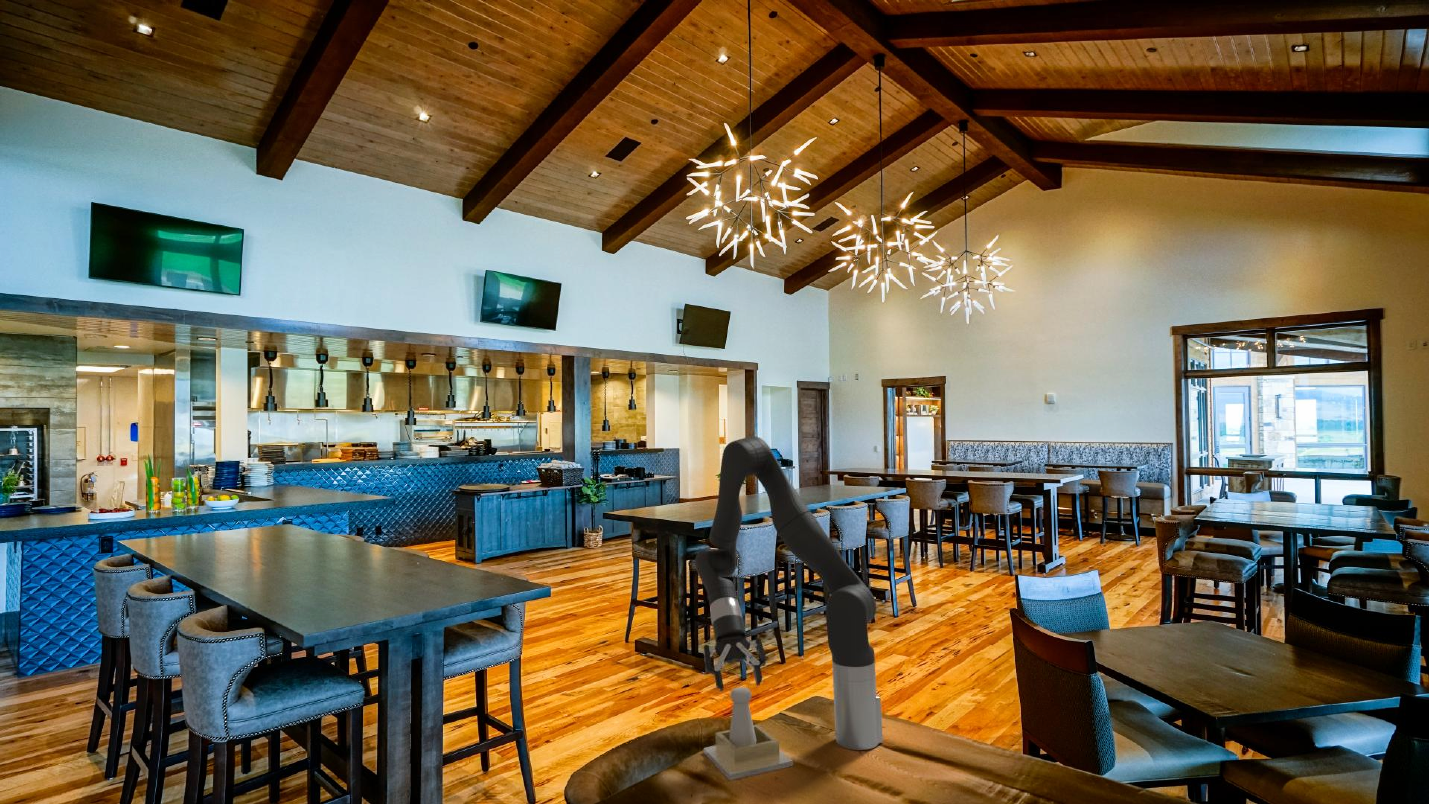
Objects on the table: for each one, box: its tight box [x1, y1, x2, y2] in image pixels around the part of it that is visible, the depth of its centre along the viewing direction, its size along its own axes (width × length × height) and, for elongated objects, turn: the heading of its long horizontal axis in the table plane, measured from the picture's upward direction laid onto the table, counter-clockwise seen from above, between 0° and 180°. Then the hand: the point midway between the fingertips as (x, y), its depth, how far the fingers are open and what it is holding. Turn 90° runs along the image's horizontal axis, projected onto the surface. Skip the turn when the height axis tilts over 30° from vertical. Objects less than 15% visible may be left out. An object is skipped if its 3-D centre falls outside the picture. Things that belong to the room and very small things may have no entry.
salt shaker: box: [729, 686, 756, 748], centre depth 146 cm, size 6×6×13 cm
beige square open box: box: [703, 724, 794, 781], centre depth 145 cm, size 14×14×4 cm
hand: (740, 686), depth 158 cm, fingers open, 8 cm apart
